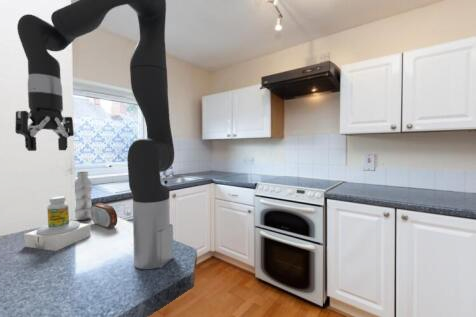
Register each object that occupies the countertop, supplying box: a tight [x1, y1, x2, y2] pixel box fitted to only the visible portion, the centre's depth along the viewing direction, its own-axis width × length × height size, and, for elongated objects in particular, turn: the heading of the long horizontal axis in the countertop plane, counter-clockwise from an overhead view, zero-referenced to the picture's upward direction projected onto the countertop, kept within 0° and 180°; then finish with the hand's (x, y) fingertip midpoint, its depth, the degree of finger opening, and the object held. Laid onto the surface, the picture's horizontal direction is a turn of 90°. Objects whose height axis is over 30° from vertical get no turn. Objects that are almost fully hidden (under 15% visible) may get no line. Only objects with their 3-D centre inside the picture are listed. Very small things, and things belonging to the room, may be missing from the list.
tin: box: [90, 202, 118, 229], centre depth 89 cm, size 15×3×8 cm, turn 58°
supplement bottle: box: [46, 195, 70, 229], centre depth 74 cm, size 5×5×10 cm
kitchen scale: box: [24, 220, 91, 252], centre depth 75 cm, size 12×12×5 cm
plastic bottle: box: [74, 171, 93, 221], centre depth 96 cm, size 6×7×20 cm
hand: (48, 150), depth 66 cm, fingers open, 8 cm apart
